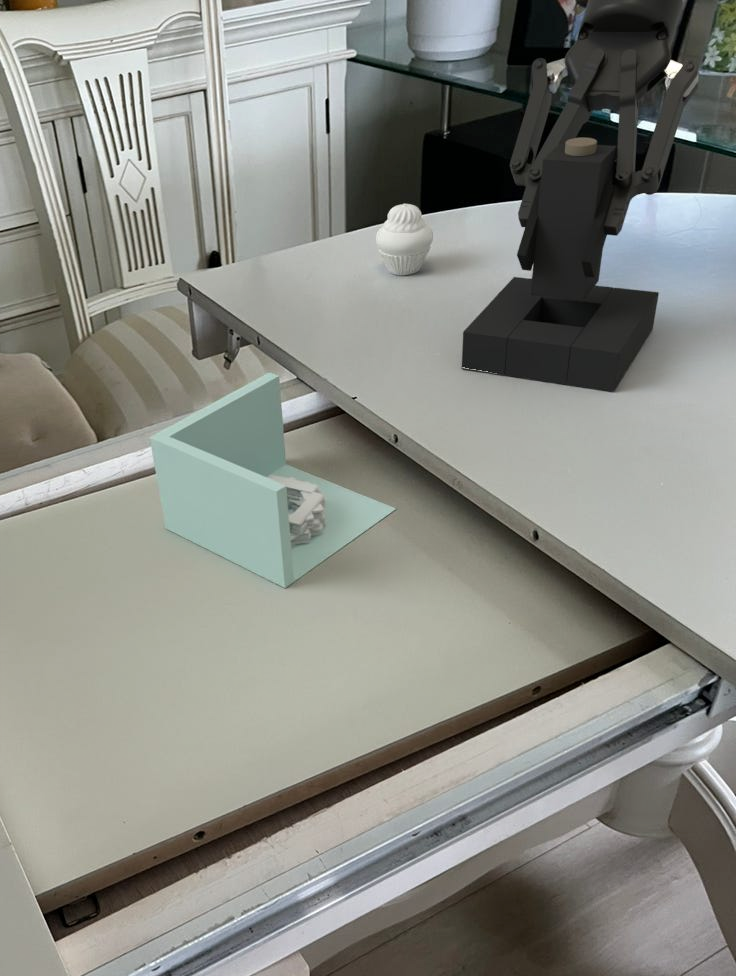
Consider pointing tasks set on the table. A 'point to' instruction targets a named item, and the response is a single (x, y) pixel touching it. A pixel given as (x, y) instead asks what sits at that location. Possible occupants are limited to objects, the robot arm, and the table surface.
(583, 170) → the pad post
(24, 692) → the table surface
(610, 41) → the robot arm
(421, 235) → the muffin
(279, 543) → the right angle wall
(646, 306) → the base pad
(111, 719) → the table surface
